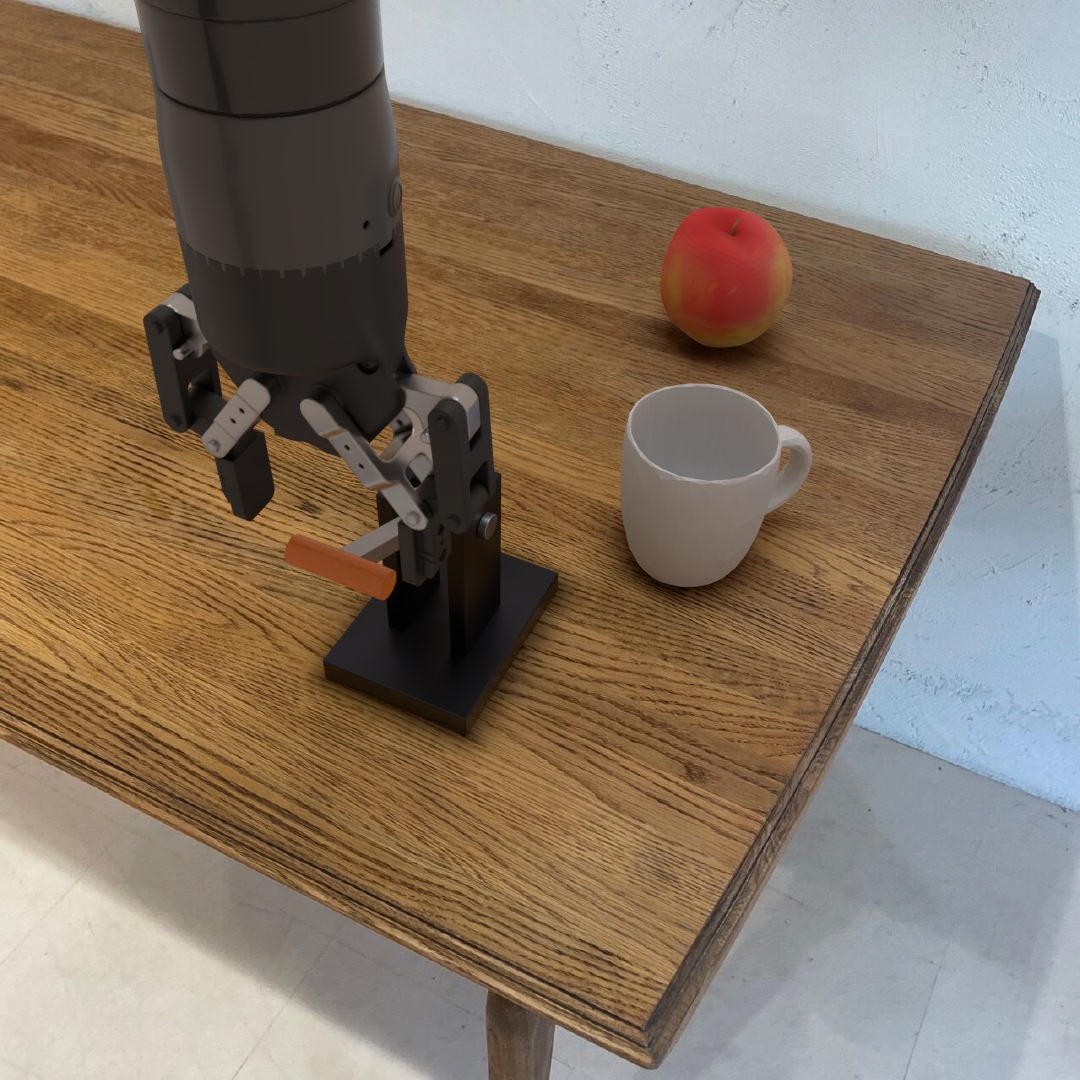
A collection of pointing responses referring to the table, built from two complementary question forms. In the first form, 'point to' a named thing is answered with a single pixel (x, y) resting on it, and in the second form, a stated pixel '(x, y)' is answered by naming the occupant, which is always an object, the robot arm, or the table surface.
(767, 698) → the table surface
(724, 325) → the apple
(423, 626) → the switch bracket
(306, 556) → the switch
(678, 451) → the mug
